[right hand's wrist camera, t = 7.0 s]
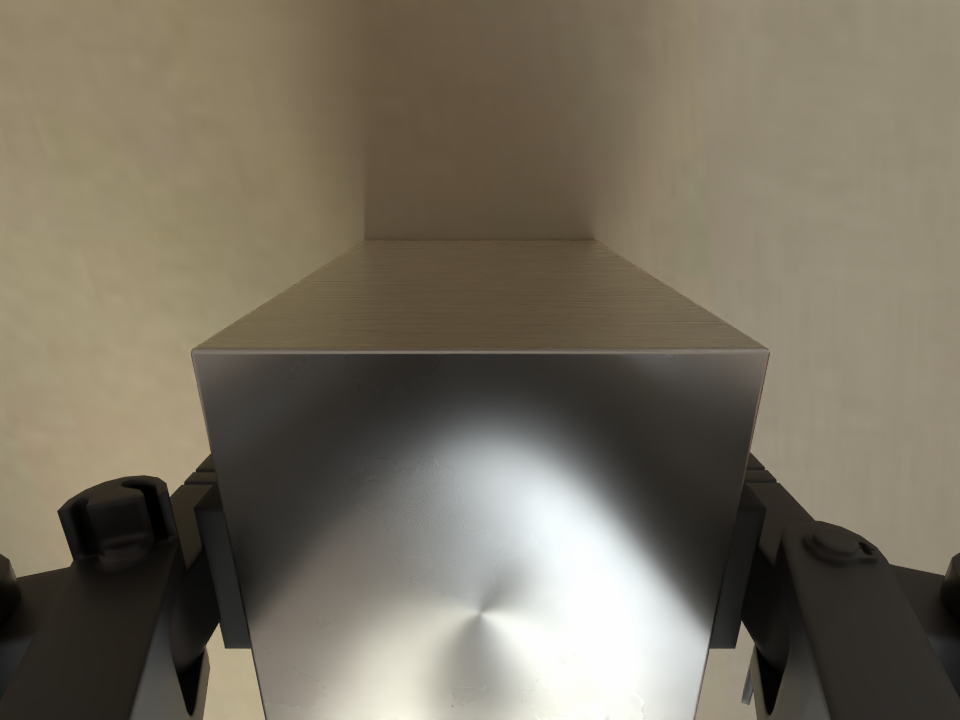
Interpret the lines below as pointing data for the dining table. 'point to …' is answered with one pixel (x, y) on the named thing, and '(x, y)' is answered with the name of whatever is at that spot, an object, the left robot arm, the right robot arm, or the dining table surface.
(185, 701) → the right robot arm
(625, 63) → the dining table surface
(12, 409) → the dining table surface
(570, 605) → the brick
